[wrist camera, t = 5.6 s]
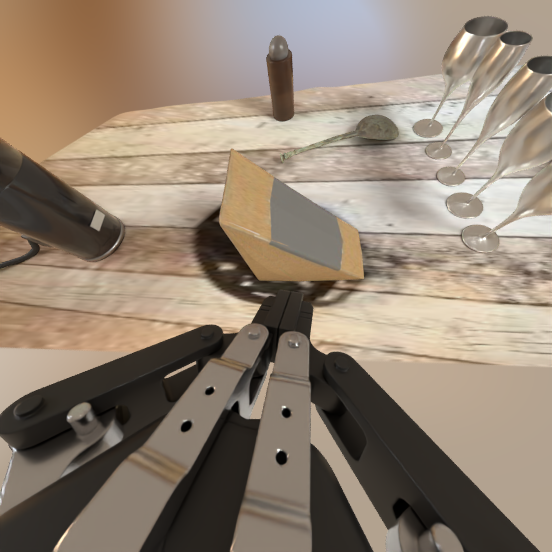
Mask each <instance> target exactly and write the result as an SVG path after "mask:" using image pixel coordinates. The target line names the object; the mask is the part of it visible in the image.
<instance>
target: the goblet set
mask: <svg viewBox="0 0 552 552" xmlns="http://www.w3.org/2000/svg"><path fill="white" fill-rule="evenodd" d="M507 28H508V24H507V22H506V21H504V20H503V19H501V18H498V17H491V16H484V17H477V18H474V19H471V20H469V21H468V22H467V23H465V25H464V26H463V27H462V29H461V30H460V31H459V33H458V34H457V36H456V37H455V38H454V40H453V41H452V42H451V44H450V46H449V47H448V49H447V51H446V53H445V55H444V58H443V61H442V75H443V78H444V82H445V93H444V96H443V98H442V101H441V103H440V105H439V107H438V109H437V111H436V112H435V114H434V116H433V118H432V119H423V120H420V121H418V122H417V123H415V125H414V131H415V133H416V134H417V135H419V136H422V137H427V138H430V137H435V136H438V135H439V134H440V133H441V132H442V130H443V127H442V125H441V124H440V123H439V122H438V121H436V120H434V119H435V117H436V115H437V113H438V112H439V110H440V108H441V107H442V105H443V104H444V102H445V101H446V99H447V98H448V97H449V95H450V94H451V93H452V92H453V91H454V90H455V89H456V88H458V87H459V86H461V85H463V84H464V83H466V82H468V81H470V80H471V83H470V86H469V90H468V94H467V98H466V101H465V105H464V108H463V110H462V112H461V115H460V116H459V118H458V120H457V122H456V123H455V125H454V126H453V128H452V130H451V131H450V133H449V134H448V136H447V137H446V139H445V140H444V142H443V143H440V142H436V143H432V144H430V145H428V146H427V148H426V153H427V155H428V156H430V157H431V158H434V159H445V158H448V157H449V156H450V155H451V153H452V150H451V148H450V147H449V146H448V145H447V144H445V143H446V141H447V140H448V138H449V137H450V136H451V134H452V133H453V131H454V130H455V129H456V127H457V126H458V125H459V123H460V122H461V121H462V120H463V118H464V117H465V116H466V115H467V114H468V113H469V112H470V111H471V110H472V109H473V108H474V107H475V106H476V105H477V104H479V103H480V102H481V101H482V100H483V99H485V98H486V97H487V96H488V95H490V94H491V93H492V92H493V91H494V90H495V89H496V88H497V87H499V86H500V85H501V84H502V82H503V81H504V80H505V79H506V78H507V77H508V76H509V75H510V73H511V72H512V71H513V69H514V68H515V67H516V65H517V64H518V63H519V61H520V60H521V58H522V56H523V55H524V53H525V52H526V50H527V48H528V47H529V45H530V43H531V41H532V39H533V37H532V35H531V34H529V33H527V32H524V31H508V32H506V31H507ZM551 88H552V56H537V57H533V58H531V59H530V60H528V61H527V62H526V63H525V64H524V65H523V66H522V67H521V68H520V69H519V71H518V72H517V73H516V74H515V75H514V76H513V77H512V78H511V79H510V80H509V82H508V83H507V84H506V85H505V86H504V88H503V89H502V90H501V92H500V93H499V94H498V96H497V97H496V99H495V100H494V102H493V104H492V105H491V107H490V109H489V111H488V113H487V116H486V119H485V122H484V126H483V129H482V132H481V134H480V136H479V138H478V140H477V142H476V143H475V145H474V146H473V148H472V149H471V151H470V152H469V153H468V154H467V156H466V157H465V158H464V159H463V161H462V162H461V163H460V164H459V165H458V167H457V168H455V167H444V168H442V169H440V170H439V171H438V173H437V178H438V180H439V181H440V182H441V183H443V184H445V185H448V186H457V185H460V184H462V183H463V182H464V180H465V175H464V173H463V172H462V171H461V170H460V169H459V168H460V167H461V165H462V164H463V163H464V162H465V161H466V160H467V159H468V158H469V157H470V156H471V154H472V153H473V152H474V151H475V150H476V149H477V148H478V147H479V146H481V145H482V144H483V143H484V142H485V141H486V140H488V139H489V138H491V137H492V136H494V135H495V134H497V133H498V132H500V131H502V130H503V129H505V128H507V127H508V126H510V125H512V124H513V123H515V122H516V121H517V120H519V119H520V118H521V117H522V118H521V119H520V120H519V122H518V123H517V124H516V125H515V126H514V128H513V129H512V130H511V132H510V133H509V134H508V136H507V137H506V139H505V141H504V143H503V145H502V147H501V150H500V154H499V161H498V167H497V170H496V172H495V174H494V175H493V176H492V178H491V179H490V180H489V181H488V182H487V183H486V184H485V185H484V186H483V187H482V188H481V189H480V190H479V191H477V192H476V193H475V194H474V195H472V194H469V193H455V194H453V195H451V196H450V197H449V198H448V200H447V207H448V209H449V211H450V212H451V213H452V214H454V215H456V216H458V217H461V218H474V217H477V216H479V215H480V214H481V213H482V211H483V204H482V202H481V201H480V200H479V199H478V198H477V196H478V195H479V194H480V193H481V192H483V191H484V190H485V189H486V188H487V187H489V186H490V185H491V184H493V183H494V182H495V181H497V180H498V179H500V178H501V177H503V176H505V175H508V174H511V173H514V172H518V171H522V170H527V169H530V168H534V167H537V166H539V165H542V164H544V163H547V162H549V161H551V160H552V92H551V93H550V94H548V95H547V96H546V97H545V98H543V97H544V96H545V95H546V94H547V93H548V91H549V90H550V89H551ZM542 98H543V99H542ZM541 99H542V100H541ZM540 100H541V101H540ZM539 101H540V102H539ZM538 102H539V103H538ZM543 215H552V163H551V164H549V165H548V166H546V167H545V168H544V169H542V170H541V171H540V172H539V173H538V174H536V175H535V176H534V177H533V178H532V179H531V180H530V181H529V183H528V184H527V185H526V186H525V188H524V189H523V191H522V193H521V196H520V199H519V202H518V206H517V208H516V210H515V211H514V212H513V214H512V215H511V216H509V217H508V218H507V219H506V220H505V221H503V222H502V223H500V224H499V225H498V226H496V227H495V228H493V229H490V228H488V227H486V226H483V225H471V226H468V227H467V228H465V229H464V230H463V232H462V239H463V242H464V243H465V244H466V245H467V246H468V247H469V248H470V249H472V250H474V251H477V252H482V253H487V252H492V251H494V250H495V249H496V248H497V247H498V246H499V237H498V235H497V234H496V233H495V232H494V231H496V230H498V229H500V228H502V227H503V226H505V225H507V224H509V223H511V222H513V221H516V220H518V219H521V218H524V217H529V216H543Z"/></svg>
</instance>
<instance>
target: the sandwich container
mask: <svg viewBox="0 0 552 552" xmlns="http://www.w3.org/2000/svg"><path fill="white" fill-rule="evenodd" d="M219 223H220V226H221V227H222V229H223V230H224V231H225V233H226V234H227V236H228V237H229V239H230V240H231V241H232V243H233V244H234V246H235V247H236V249H237V250H238V251H239V253H240V254H241V256H242V257H243V259H244V260H245V261H246V263H247V264H248V266H249V267H250V269H251V270H252V271H253V273H254V274H255V276H256V277H257V278H258V280H261V281H321V280H352V279H364V272H363V260H362V251H361V245H360V240H359V234H358V230H357V229H356V228H354V227H352V226H351V225H349V224H347V223H346V222H344V221H342V220H341V219H339V218H337V217H336V216H334V215H333V214H331V213H329V212H328V211H326V210H325V209H323V208H321V207H320V206H318V205H317V204H315V203H314V202H312V201H311V200H309V199H308V198H306V197H304V196H303V195H301V194H300V193H298V192H296V191H295V190H293V189H292V188H290V187H289V186H287V185H286V184H284V183H282V182H281V181H279V180H278V179H276V178H275V177H273V176H272V175H270V174H269V173H267V172H266V171H264V170H263V169H261V168H260V167H258V166H257V165H255V164H254V163H252V162H251V161H250V160H248V159H247V158H245V157H244V156H242V155H241V154H239V153H238V152H236V151H235V150H234V149H232V148H231V151H230V157H229V164H228V170H227V176H226V182H225V188H224V194H223V199H222V204H221V210H220V215H219Z"/></svg>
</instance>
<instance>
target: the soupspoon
mask: <svg viewBox="0 0 552 552" xmlns="http://www.w3.org/2000/svg"><path fill="white" fill-rule="evenodd" d="M398 135H399V132H398V129H397V127H396V125H395V124H394V122H393V121H392V120H390V119H389V118H387V117H385V116H382V115H371V116H368V117H365V118H364V119H362V120H361V121H360V122H359V124H358V125H357V128H356V131H353V132H349V133H345V134H342V135H338V136H335V137H332V138H329V139H327V140H324V141H321V142H318V143H315V144H312V145H309V146H306V147H304V148H301V149H298V150H294V151H293V152H288V153H284V155H282V154H281V153H280V157H281V160H282V163H284V159H285V160H287V158H289V157H292V156H293V155H294V154H295V155H297V154H298V153H300V152H303V151H306V150H309V149H313V148H316V147H319V146H322V145H325V144H328V143H331V142H334V141H338V140H341V139H345V138H350V137H354V136H359V137H362V138H368V139H376V140H389V139H396V138H397V137H398Z"/></svg>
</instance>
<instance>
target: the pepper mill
mask: <svg viewBox="0 0 552 552" xmlns="http://www.w3.org/2000/svg"><path fill="white" fill-rule="evenodd" d="M266 60H267V67H268V76H269V83H270V91H271V99H272V107H273V115H274V118H275V119H276V120H278V121H287V120H289V119H291V118H292V117H293V115H294V93H293V68H292V52H291V51H290V50H289V49H288V45H287V42H286V40H285V39H284V38H283V37H282V36H275V37H274V38H273V39H272V41H271V42H270V46H269V54H268V55H267V57H266Z"/></svg>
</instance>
